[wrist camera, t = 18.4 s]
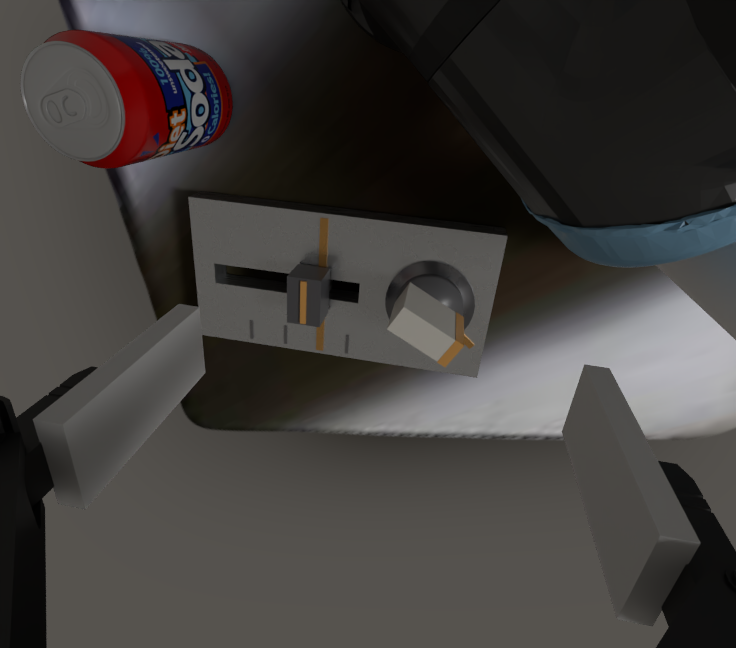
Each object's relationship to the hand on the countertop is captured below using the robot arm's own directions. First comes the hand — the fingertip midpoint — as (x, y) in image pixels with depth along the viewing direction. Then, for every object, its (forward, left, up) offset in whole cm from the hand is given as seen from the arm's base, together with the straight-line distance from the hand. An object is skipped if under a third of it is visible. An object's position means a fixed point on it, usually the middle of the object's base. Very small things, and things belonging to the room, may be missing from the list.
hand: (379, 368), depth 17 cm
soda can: (-6, -21, -29) cm, 36 cm away
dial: (+9, +2, -26) cm, 27 cm away
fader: (+9, -9, -29) cm, 31 cm away
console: (+9, -7, -29) cm, 31 cm away
